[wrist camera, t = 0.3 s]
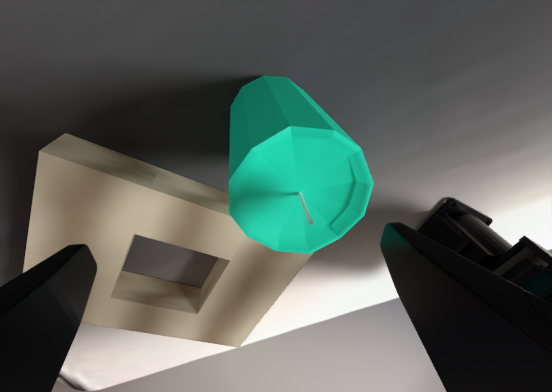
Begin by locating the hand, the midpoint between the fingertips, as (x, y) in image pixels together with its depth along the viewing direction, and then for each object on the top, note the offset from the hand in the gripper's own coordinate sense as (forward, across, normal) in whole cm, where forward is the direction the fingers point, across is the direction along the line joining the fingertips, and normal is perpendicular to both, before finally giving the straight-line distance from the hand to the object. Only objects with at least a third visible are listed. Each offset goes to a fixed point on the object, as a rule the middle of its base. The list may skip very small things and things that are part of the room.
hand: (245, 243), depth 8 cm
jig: (+13, +7, +12) cm, 19 cm away
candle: (+13, -2, 0) cm, 13 cm away
